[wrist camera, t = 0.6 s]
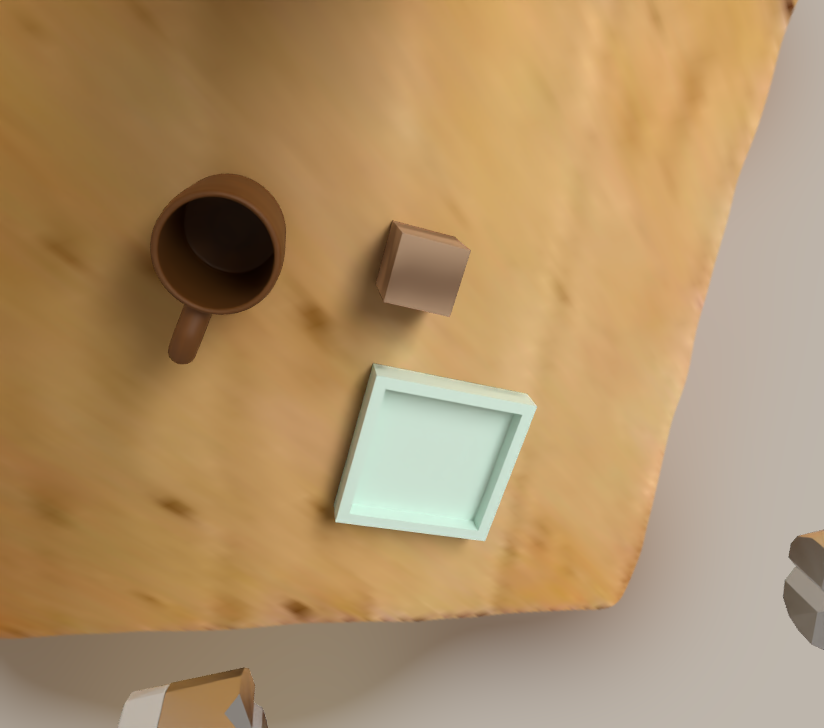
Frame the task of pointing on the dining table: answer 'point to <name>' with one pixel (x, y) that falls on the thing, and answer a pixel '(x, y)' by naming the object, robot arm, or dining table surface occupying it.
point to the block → (421, 269)
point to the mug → (217, 253)
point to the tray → (431, 454)
